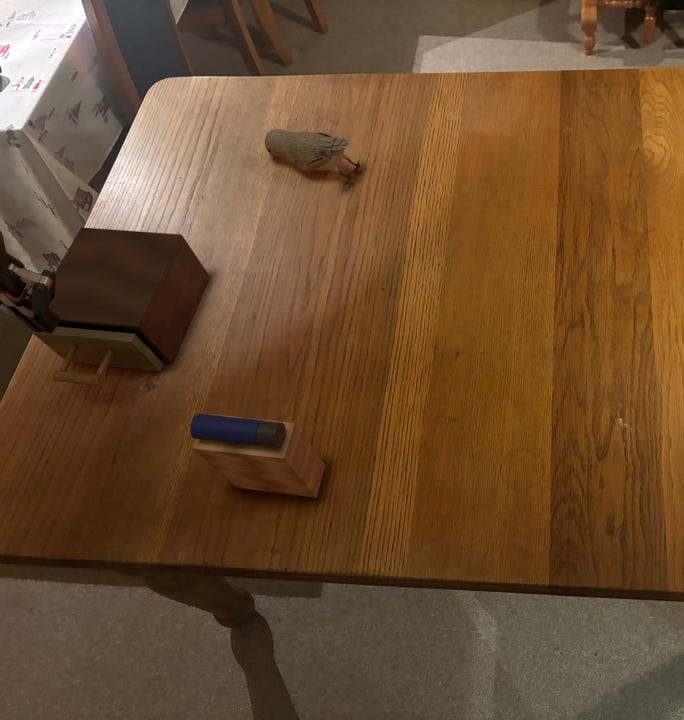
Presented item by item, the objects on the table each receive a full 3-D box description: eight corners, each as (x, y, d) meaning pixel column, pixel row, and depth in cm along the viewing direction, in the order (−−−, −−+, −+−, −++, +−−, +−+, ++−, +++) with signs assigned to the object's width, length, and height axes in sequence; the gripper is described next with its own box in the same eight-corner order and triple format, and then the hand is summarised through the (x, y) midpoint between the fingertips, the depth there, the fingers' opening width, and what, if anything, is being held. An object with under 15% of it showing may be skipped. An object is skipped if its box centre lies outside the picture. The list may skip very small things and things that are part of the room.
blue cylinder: (198, 442, 68) (186, 433, 66) (206, 419, 69) (195, 409, 67) (281, 451, 67) (272, 442, 64) (288, 428, 68) (279, 418, 66)
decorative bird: (281, 145, 108) (265, 107, 101) (367, 168, 104) (357, 130, 97) (264, 168, 105) (246, 130, 99) (351, 192, 101) (339, 154, 95)
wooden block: (236, 487, 78) (191, 448, 68) (246, 456, 80) (204, 413, 70) (316, 497, 77) (283, 458, 66) (325, 465, 79) (294, 422, 68)
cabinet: (172, 364, 87) (137, 326, 80) (72, 354, 89) (28, 316, 81) (210, 276, 95) (181, 234, 87) (117, 269, 96) (80, 227, 89)
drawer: (145, 405, 83) (114, 377, 77) (49, 394, 85) (11, 366, 79) (197, 288, 93) (172, 254, 86) (109, 281, 94) (79, 247, 88)
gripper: (-159, 248, 59) (-21, 349, 74) (-27, 259, 58) (87, 359, 73) (-111, 188, 63) (12, 295, 78) (15, 196, 61) (116, 304, 76)
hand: (48, 326), depth 75 cm, fingers closed
